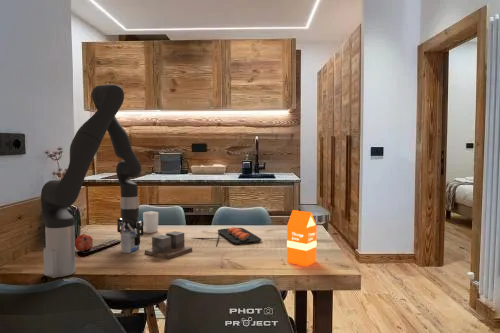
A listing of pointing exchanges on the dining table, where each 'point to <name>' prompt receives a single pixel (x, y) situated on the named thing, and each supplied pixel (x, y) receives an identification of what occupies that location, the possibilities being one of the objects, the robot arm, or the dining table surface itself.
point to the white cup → (150, 221)
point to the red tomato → (83, 242)
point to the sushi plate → (236, 235)
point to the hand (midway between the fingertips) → (130, 243)
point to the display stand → (168, 245)
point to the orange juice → (301, 238)
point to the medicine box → (128, 242)
